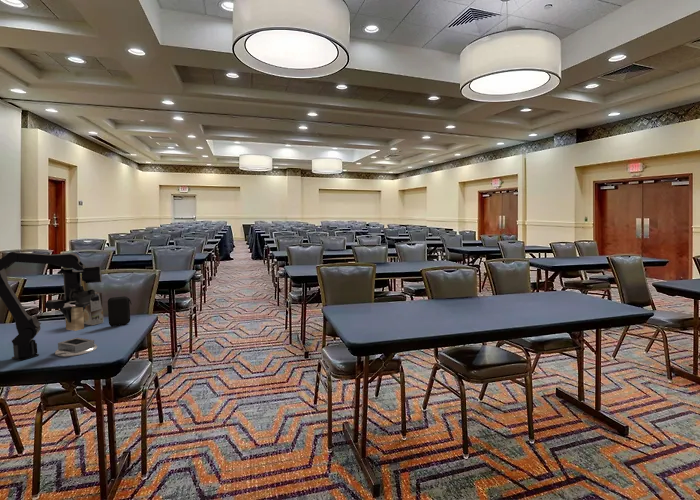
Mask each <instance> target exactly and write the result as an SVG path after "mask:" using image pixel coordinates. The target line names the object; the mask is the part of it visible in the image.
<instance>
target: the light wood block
mask: <svg viewBox="0 0 700 500" xmlns="http://www.w3.org/2000/svg"><path fill="white" fill-rule="evenodd" d="M71 307H72V309H71V323H69V322H68V321H67V319H66V317H65V316H64V317H65V330H68V331H73V332H76V331H80V330H84V329H85V324H84V317H83V307H76V306H75V305H71Z"/></svg>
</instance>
